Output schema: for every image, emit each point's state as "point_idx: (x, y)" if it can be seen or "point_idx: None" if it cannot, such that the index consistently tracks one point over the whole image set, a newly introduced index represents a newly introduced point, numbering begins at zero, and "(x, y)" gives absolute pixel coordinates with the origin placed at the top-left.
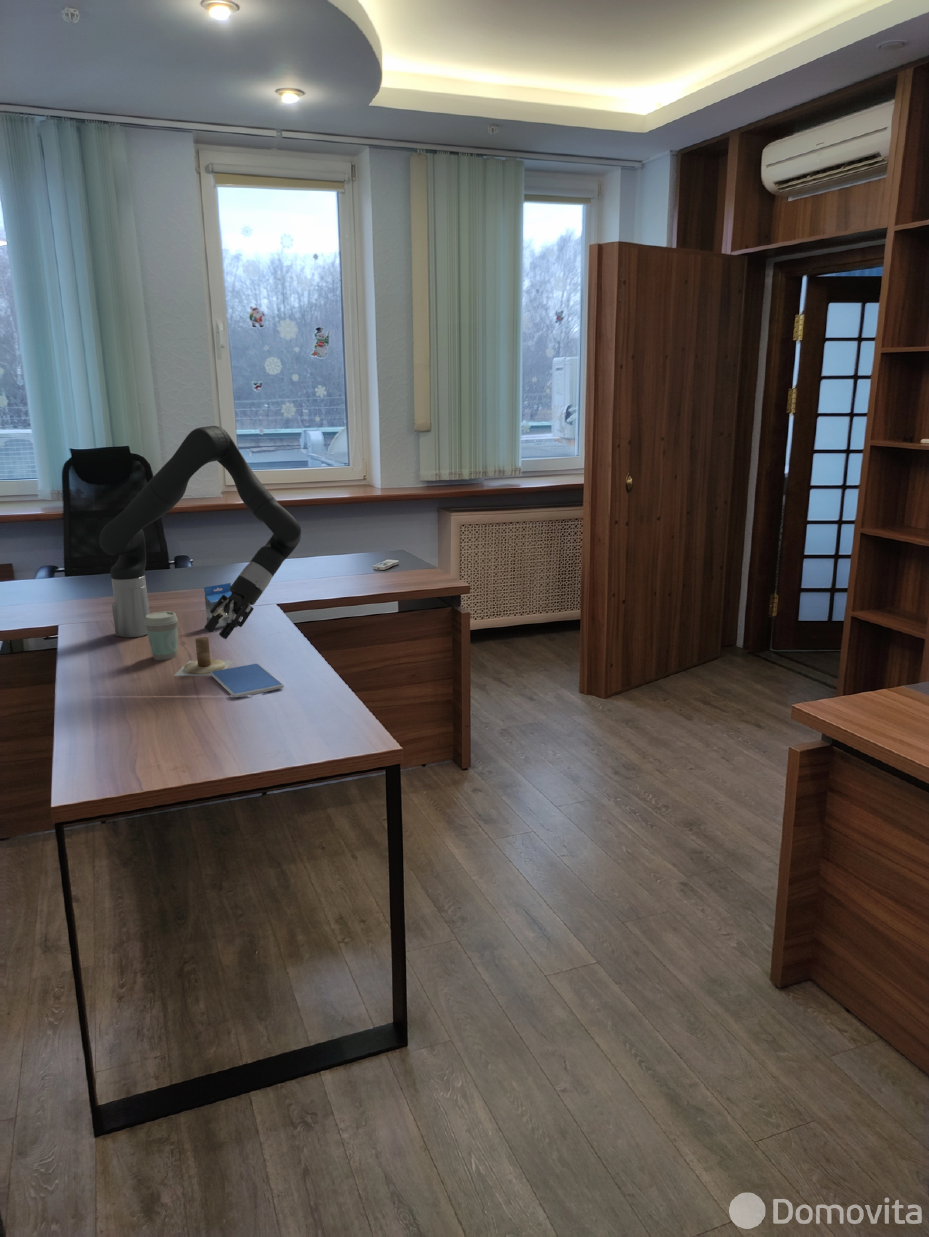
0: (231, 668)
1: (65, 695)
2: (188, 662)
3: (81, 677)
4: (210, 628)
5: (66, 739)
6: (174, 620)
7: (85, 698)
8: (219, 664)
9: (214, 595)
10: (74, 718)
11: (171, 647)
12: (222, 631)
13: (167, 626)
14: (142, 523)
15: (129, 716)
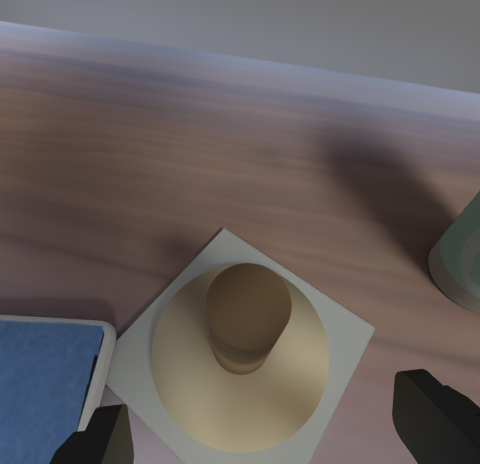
0: (69, 432)
1: (251, 58)
2: (354, 317)
3: (360, 92)
4: (413, 426)
5: (21, 25)
6: None
7: (206, 72)
8: (201, 410)
9: None
10: (108, 45)
11: (466, 265)
12: (83, 437)
13: None
14: None
15: (21, 93)
